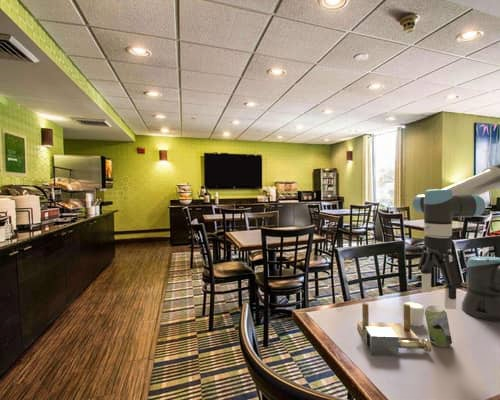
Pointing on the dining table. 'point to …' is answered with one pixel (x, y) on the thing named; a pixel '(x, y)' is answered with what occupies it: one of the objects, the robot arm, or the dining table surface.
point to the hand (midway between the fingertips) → (437, 299)
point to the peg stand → (389, 324)
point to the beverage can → (438, 326)
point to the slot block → (381, 341)
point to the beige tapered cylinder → (416, 313)
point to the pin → (415, 344)
